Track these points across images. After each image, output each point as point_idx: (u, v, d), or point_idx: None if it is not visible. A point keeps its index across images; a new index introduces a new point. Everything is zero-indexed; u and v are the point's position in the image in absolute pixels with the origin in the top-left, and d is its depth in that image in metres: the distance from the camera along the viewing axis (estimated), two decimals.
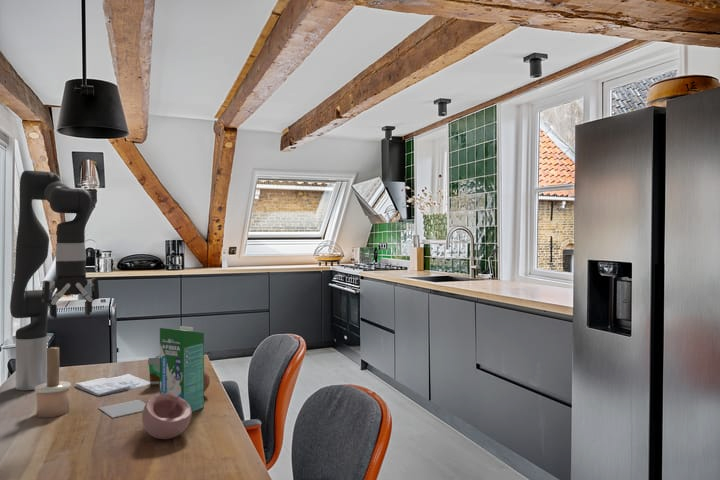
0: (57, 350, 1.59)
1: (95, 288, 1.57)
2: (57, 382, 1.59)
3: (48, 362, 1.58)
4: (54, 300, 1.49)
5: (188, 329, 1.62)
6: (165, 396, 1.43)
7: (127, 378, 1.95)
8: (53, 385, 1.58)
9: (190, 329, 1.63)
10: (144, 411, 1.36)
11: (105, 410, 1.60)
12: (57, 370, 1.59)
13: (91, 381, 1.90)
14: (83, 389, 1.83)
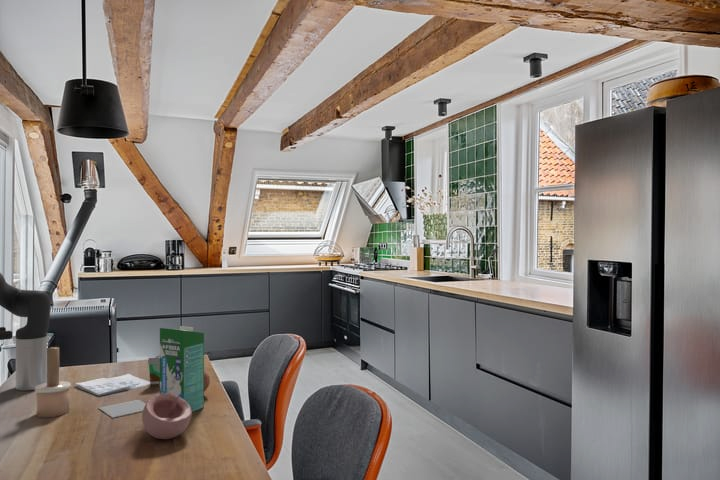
0: (57, 350, 1.59)
1: None
2: (57, 382, 1.59)
3: (48, 362, 1.58)
4: None
5: (188, 329, 1.62)
6: (165, 396, 1.43)
7: (127, 378, 1.95)
8: (53, 385, 1.58)
9: (190, 329, 1.63)
10: (144, 411, 1.36)
11: (105, 410, 1.60)
12: (57, 370, 1.59)
13: (91, 381, 1.90)
14: (83, 389, 1.83)
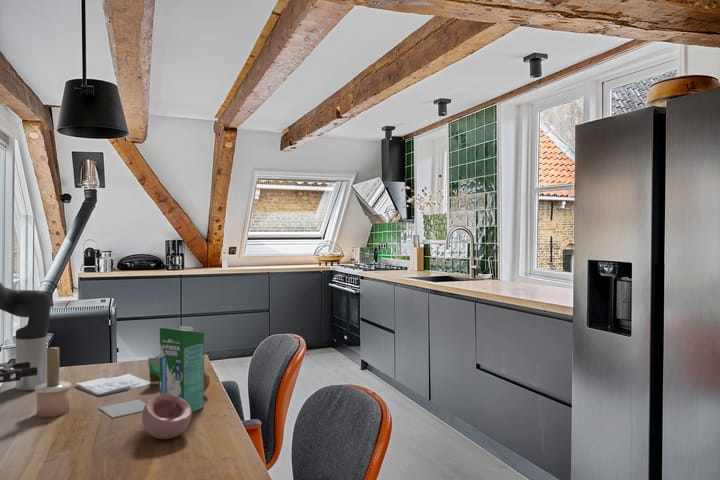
0: (57, 350, 1.59)
1: None
2: (57, 382, 1.59)
3: (48, 362, 1.58)
4: None
5: (188, 329, 1.62)
6: (165, 396, 1.43)
7: (127, 378, 1.95)
8: (53, 385, 1.58)
9: (190, 329, 1.63)
10: (144, 411, 1.36)
11: (105, 410, 1.60)
12: (57, 370, 1.59)
13: (91, 381, 1.90)
14: (83, 389, 1.83)
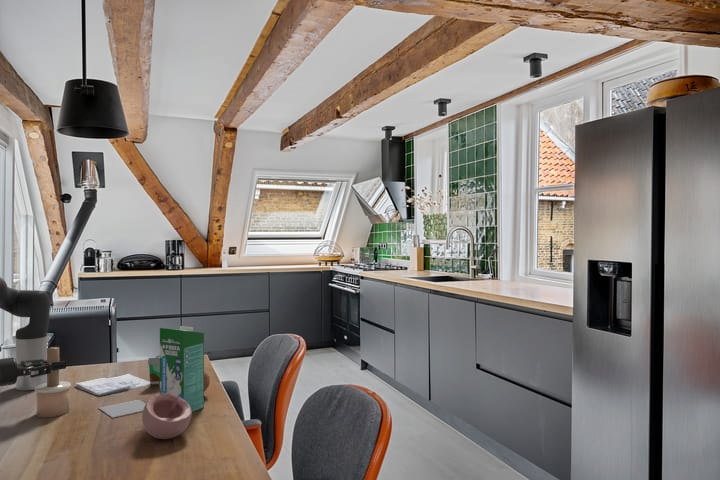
0: (57, 350, 1.59)
1: None
2: (57, 382, 1.59)
3: (48, 362, 1.58)
4: None
5: (188, 329, 1.62)
6: (165, 396, 1.43)
7: (127, 378, 1.95)
8: (53, 385, 1.58)
9: (190, 329, 1.63)
10: (144, 411, 1.36)
11: (105, 410, 1.60)
12: (57, 370, 1.59)
13: (91, 381, 1.90)
14: (83, 389, 1.83)
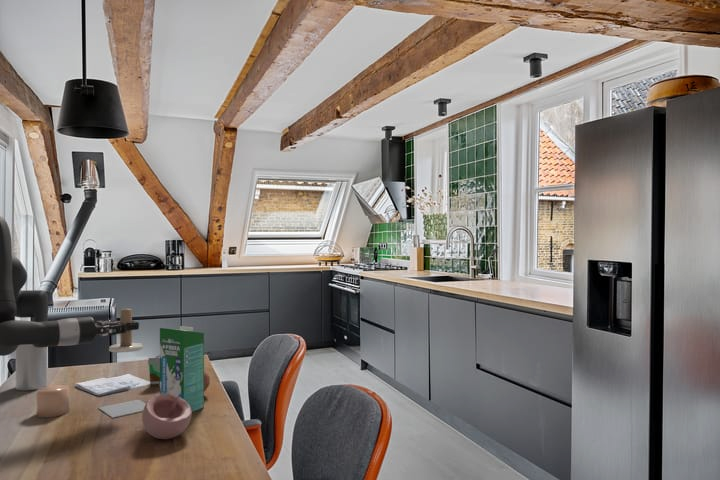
0: (130, 311, 1.62)
1: None
2: (130, 342, 1.62)
3: (122, 322, 1.61)
4: None
5: (188, 329, 1.62)
6: (165, 396, 1.43)
7: (127, 378, 1.95)
8: (127, 345, 1.61)
9: (190, 329, 1.63)
10: (144, 411, 1.36)
11: (105, 410, 1.60)
12: (130, 331, 1.62)
13: (91, 381, 1.90)
14: (83, 389, 1.83)
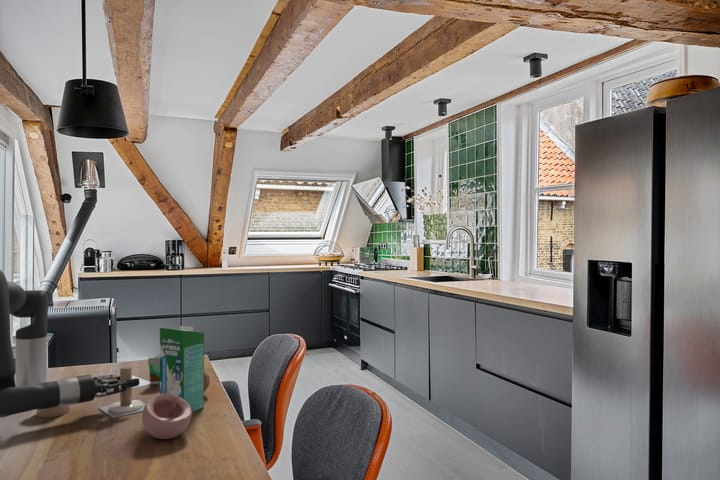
0: (130, 370, 1.62)
1: None
2: (130, 401, 1.62)
3: None
4: None
5: (188, 329, 1.62)
6: (165, 396, 1.43)
7: None
8: (126, 404, 1.62)
9: (190, 329, 1.63)
10: (144, 411, 1.36)
11: (105, 410, 1.60)
12: (130, 389, 1.62)
13: None
14: None
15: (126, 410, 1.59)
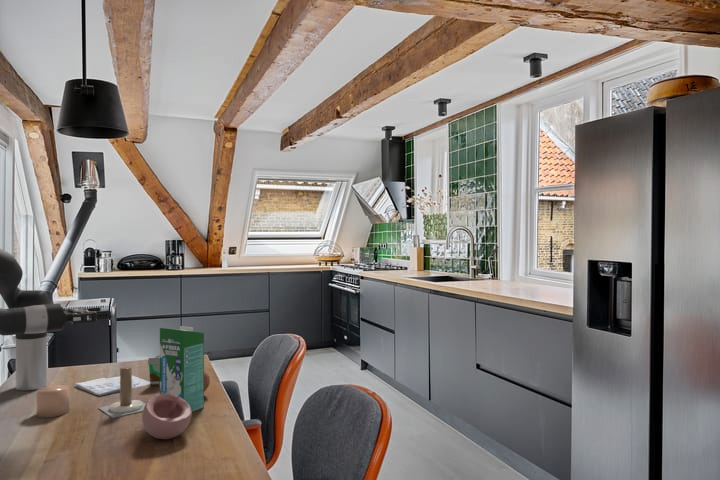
0: (130, 370, 1.62)
1: None
2: (130, 401, 1.62)
3: (122, 382, 1.61)
4: None
5: (188, 329, 1.62)
6: (165, 396, 1.43)
7: None
8: (126, 404, 1.61)
9: (190, 329, 1.63)
10: (144, 411, 1.36)
11: (105, 410, 1.60)
12: (130, 390, 1.62)
13: (91, 381, 1.90)
14: (83, 389, 1.83)
15: (126, 410, 1.59)
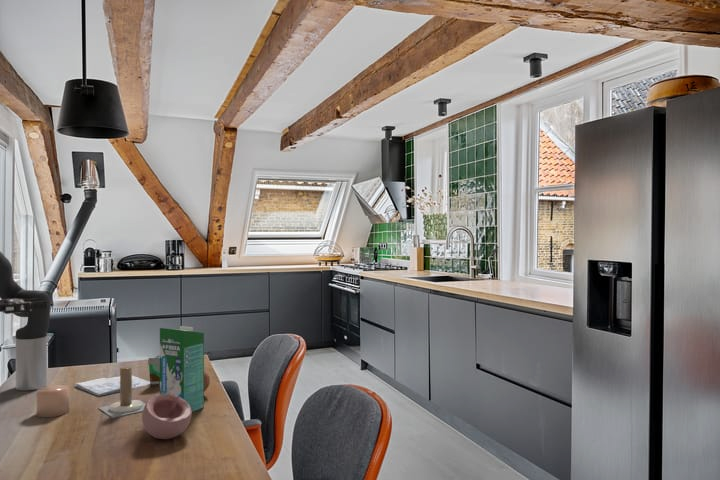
0: (130, 370, 1.62)
1: None
2: (130, 401, 1.62)
3: (122, 382, 1.61)
4: None
5: (188, 329, 1.62)
6: (165, 396, 1.43)
7: None
8: (126, 404, 1.61)
9: (190, 329, 1.63)
10: (144, 411, 1.36)
11: (105, 410, 1.60)
12: (130, 390, 1.62)
13: (91, 381, 1.90)
14: (83, 389, 1.83)
15: (126, 410, 1.59)
